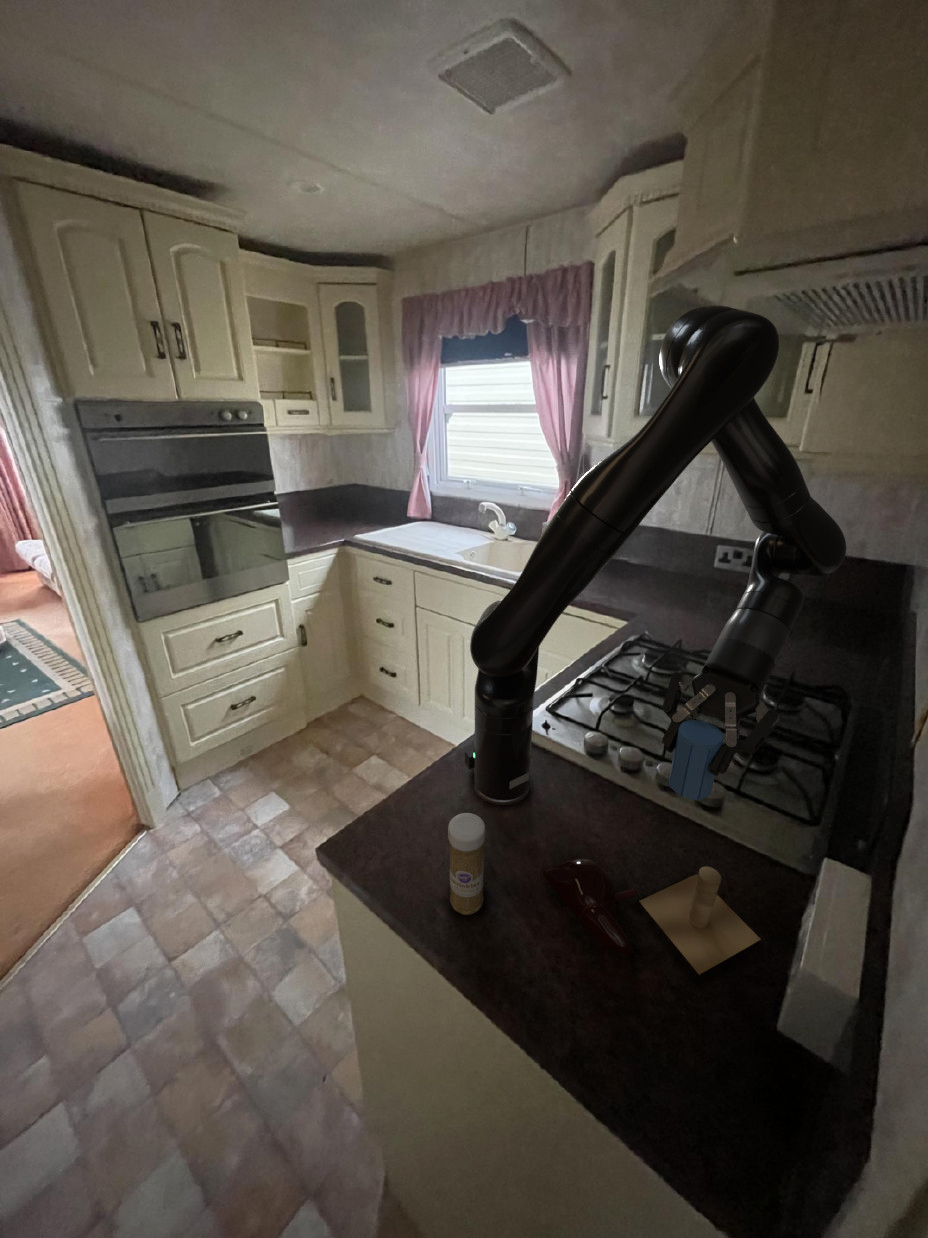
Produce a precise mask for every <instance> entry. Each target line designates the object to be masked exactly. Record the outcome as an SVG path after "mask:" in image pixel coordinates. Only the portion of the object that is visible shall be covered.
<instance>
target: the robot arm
mask: <svg viewBox="0 0 928 1238" xmlns="http://www.w3.org/2000/svg"><path fill="white" fill-rule="evenodd" d="M779 351H780V336H779V332H778V330H777V327H776V326H775V324H774V323H773V322H772V321H771V320H770V319H768V318H767V317H766V316H763V315H762V314H759V313H755V312H751V311H748V310H744V309H739V308H734V307H730V306H726V305H720V304H719V305H717V304H704V305H701V306H700V305H699V306H696V307H694V308H691V309H688V310H687V311H686V312H684V313H682V314H680V316H679V317H677V318H676V319H675V321H673V323H672V324H671V325H670V327H669V328H668V329H667V331H666V333H665V336H664V337H663V339H662V343H661V345H660V351H659V367H660V368H659V369H660V371H661V375H662V377H663V379H664V381H665V383H666V384H667V386H668V387H669V388H670V390H669V391H668V392H667V394H666V396H665V397H664V399H663V400H662V402H661V403H660V404H659V406H658V407H657V409H656V410H655V411H654V413H653V414H652V415H651V417H650V418H649V419H648V421H647V422H646V423H645V424H644V425H643V426H642V428H640V430H639V431H638V432H637V433H636V434H635V435H634V436H633V437H631V438H630V439H629V440H628V441H626V442H625V443H624V444H623V445H621V446H620V447H619V448H617V449H616V450H614V451H613V452H612V453H610V454H609V455H607V456H605V458H603V459H602V460H601V461H599V462H598V463H597V464H595V465H594V466H592V468H590V469H589V470H588V471H587V472H586V473H585V474H584V475H582V477H581V478H580V479H579V480H578V481H577V482H576V484H575V485H574V486H573V487H572V489H571V490H570V491H569V493H568V494H567V496H565V499H564V500H563V501H562V503H561V504H560V505H559V507H558V508H557V510H556V511H555V512H554V514H553V515H552V517H551V519H550V521H548V522H549V524H548V525H547V527H546V529H545V530H544V532H543V534H542V533H541V536H540V537H539V539H538V541H537V543H536V544H535V546H534V548H533V550H532V552H531V554H530V556H529V558H528V560H527V562H526V564H525V566H524V568H523V570H522V572H521V574H520V575H519V576H518V578H517V580H516V582H515V583H514V585H513V586H512V587H511V589H510V590H509V591H508V593H506V595H505V596H504V597H503V598H501V599H497V600H496V601H494V602H492V603H490V604H489V605H488V606H487V607H486V608H485V609H484V611H483V612H482V614H481V616H480V617H479V619H478V621H477V623H476V624H475V626H474V628H473V630H472V633H471V635H470V642H469V652H470V656H471V659H472V661H473V663H474V665H475V667H477V669H478V670H477V674H476V680H475V684H474V733H473V736H474V737H473V739H474V740H473V741H474V742H473V744H474V745H473V748H472V749H468V750H465V751H464V764H465V766H466V767H467V768H468V770H471V769H473V774H474V778H473V789H474V792H475V793H476V795H477V796H478V797H479V798H480V799H481V800H483V801H484V802H486V803H488V804H491V805H494V806H503V807H505V806H513V805H515V804H518V803H520V802H522V801H523V800H524V799H525V798H526V797H527V796H528V794H529V791H530V784H531V783H530V773H531V756H532V741H533V721H534V705H535V694H536V693H535V692H536V686H537V679H538V667H539V655H540V654H539V653H540V646H541V644H542V643H543V641H544V640H545V638H546V636H547V635H548V633H549V632H550V630H551V629H552V628H553V626H554V624H555V623H556V622H557V621H558V619H559V618H560V617H561V615H562V614H563V612H564V611H565V610H566V609H568V607H569V606H570V605H571V604H572V602H573V601H574V600H575V599H577V597H578V596H579V595H580V594H582V592H583V591H584V590H585V589H586V588H587V587H588V586H589V584H590V583H591V582H592V581H593V580H594V579H595V578H596V577H597V576H598V574H600V572H602V570H603V569H604V568H605V567H606V565H608V563H609V562H610V561H611V560H612V559H613V558H614V557H615V555H617V553H618V552H619V551H620V550H621V548H622V547H623V546H624V544H625V543H626V542H627V541H628V540H629V538H630V537H631V536H632V534H633V533H634V532H635V531H636V530H637V528H638V527H639V525H640V524H641V523H642V522H643V520H644V519H645V517H647V515H648V514H649V512H650V511H651V510H652V509H653V508H654V506H656V504H657V503H658V502H659V501H660V500H661V499H662V497H663V496H664V495H665V494H666V492H667V491H668V490H669V489H670V488H671V487H672V485H673V484H674V483H675V482H676V481H677V479H678V478H679V477H680V475H681V474H682V473H684V471H685V470H686V469H687V467H688V466H689V465H690V464H691V463H692V462H693V461H694V460H695V459H696V457H697V456H698V455H699V454H700V453H702V451H703V450H704V449H705V448H706V447H707V446H708V445H710V443H711V445H712V446H713V448H714V449H715V451H716V452H717V454H718V457H719V458H720V461H721V462H722V464H723V466H724V468H725V470H726V472H727V474H728V475H729V478H730V480H731V481H732V484H733V486H734V488H735V490H736V492H737V494H738V497H739V498H740V501H741V502H742V504H743V506H744V508H745V511H746V512H747V514H748V516H749V519H750V520H751V522H752V524H753V525H754V527H755V528H756V529H758V530H759V531H761V532H760V533H759V535H758V537H757V538H756V540H755V543H754V546H753V547H754V548H753V553H752V561H751V567H750V571H749V576H748V582H747V584H746V589H745V591H744V592H743V594H742V596H741V598H740V600H739V602H738V604H737V607H736V608H735V610H734V612H733V613H732V614H731V616H730V618H729V619H728V620H727V622H726V623H725V625H724V626H723V628H722V630H721V631H720V634H719V636H718V637H717V640H716V642H715V644H714V646H713V647H712V649H711V651H710V653H709V656H708V657H707V659H706V661H705V663H704V665H703V667H702V668H701V671H700V672H699V673H698V674H697V675H694V677H690V676H684V675H682V674H681V673H680V672H678V671H675V672H672V674H671V676H670V680H669V684H668V685H667V686H668V687H667V690H666V694H665V697H664V700H663V703H662V705H661V706H662V707H661V710H662V712H663V713H664V714H665V715H666V716H667V717H668V718H669V719H670V724H669V725H668V727H667V729H666V730H665V733H664V734H663V737H662V739H661V743H662V744H663V749H664V750H665V752H668V753H670V754H672V753H674V750H675V745H676V739H677V734H678V729H679V727H680V725H681V724H682V723H683V722H685V721H688V720H696V719H697V718H699V717H700V716H702V715H705V716H708V717H713V718H715V719H717V720H718V721H719V722H722V723H723V724H724V725H725V726H724V727H725V742H724V744H723V745H721V747H720V749H719V751H718V753H717V755H716V757H715V759H714V761H713V763H712V765H711V767H710V770H709V771H710V773H711V774H713V775H715V777H718V776H719V774H722V775H724V774H725V773H727V771H728V769H729V767H730V765H731V763H732V761H733V759H734V757H735V755H736V754H737V753H747V754H749V755H754V754H756V752H757V751H758V750H759V748H760V747H761V746H762V745H763V743H764V742H765V741H766V740H767V738H768V737H769V736H770V734H772V732H773V731H774V729H775V728H776V727H777V726H778V724H779V723H780V714H779V713H778V711H777V710H776V709H773V708H772V709H770V708H768V707H765V706H764V705H762V704H761V701H760V697H761V695H762V693H763V690H764V689H765V687H766V685H767V683H768V681H769V679H770V677H771V674H772V673H773V671H774V668H775V667H776V665H777V663H778V662H779V660H780V658H781V657H782V653H783V650H784V648H785V646H786V643H787V639H788V636H789V634H790V632H791V630H792V628H793V626H794V623H795V622H796V621H797V618H798V616H799V614H800V611H801V610H802V607H803V605H804V601H805V595H804V592H803V591H802V589H801V588H800V587H799V586H798V585H796V584H794V583H793V582H791V581H789V580H786V579H784V578H781V577H780V576H781V575H782V574H787V575H798V576H807V577H824V576H828V575H831V574H832V573H834V572H836V570H838V569H839V568H840V566H841V565H842V564H843V562H844V561H845V557H846V553H847V541H846V537H845V535H844V532H843V530H842V528H841V527H840V525H839V524H838V523H837V522H836V520H835V519H834V518H833V517H832V516H831V515H830V514H829V513H828V511H826V510H825V509H824V508H823V507H822V506H821V504H820V503H819V502H818V501H816V500H815V499H814V498H813V496H811V492H810V490H809V488H808V486H807V483H806V480H805V478H804V476H803V473H802V471H801V468H800V466H799V464H798V462H797V460H796V459H795V457H794V455H793V454H792V452H791V450H790V449H789V447H788V446H787V444H786V442H784V440H783V439H782V438H781V436H780V435H779V433H778V432H777V431H776V430H775V428H774V427H773V426H772V424H771V423H770V422H769V420H768V419H767V417H766V415H765V414H764V413H763V411H762V410H761V408H760V406H759V404H758V402H757V401H756V398H755V396H757V394H758V393H759V392H760V391H761V389H762V388H763V386H764V385H765V383H766V382H767V381H768V379H769V377H770V375H771V373H772V372H773V370H774V368H775V365H776V363H777V360H778V356H779ZM691 687H692V691H693V697H692V698H690V699H689V700H688V701H687V702H686V703H685V704H684V705H683V706H682V707H681V708H680V709H679V710H678V708H679V707H678V706H679V704H680V700H681V696H682V693H685V692H687V691H688V689H689V688H691ZM754 713H757V715H756V717H755V719H756V721H757V724H756V725H755V726H754V727H753V729H752V730H751V732H749V734H747V737H746V738H745V739H740V729H741V728H740V726H741V725H740V721H741V719H744V718H745V717H748V716H749V715H751V714H754Z"/></svg>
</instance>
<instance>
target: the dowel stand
mask: <svg viewBox="0 0 928 1238" xmlns="http://www.w3.org/2000/svg"><path fill="white" fill-rule="evenodd" d="M721 883H722V876H721V873H720V872H718V871H717V870H716V869H715V868H713V867H711V866H702V867H701V868H700V869H699V870H698V873H695V874H694V875H691V876H689V877H687V878H685V879H683V880H681V881H679V882H677V883H674V884H672V885H670V886H668V887H666V888H663V889H662V890H660V891H657V892H655V893H653V894H651V895H649V896H647V897H645V898H643V899H641V900H639V903H640V905H641V906H642V907H643V908H644V909H645V911H646V912H647V913H648V914H649V916H650V917H651V918H652V919H653V920H654V922H655V923H656V924H657V925H658V927H659V928H660V929H661V930H662V931H663V933H664V934H665V935H666V936H667V938H668V939H669V940H670V941H671V942H672V943H673V945H674V946H675V947H676V949H677V950H678V951H679V952H680V953H681V954H682V956H683V957H684V958H685V959H686V961H687V962H688V963H689V964H690V965H691V967H692V968H693V969H694V970H695V971H696V973H697V974H698V975H702V974H704V973H706V972H707V971H710V969H712V968H714V967H716V966H717V965H720V964H721V963H723V962H724V961H726V960H728V959H730V958H732V957H733V956H735V955H736V954H738V953H740V952H742V951H744V950H746V949H747V948H749V947H752V946H753V945H754V944H756V943H759V941H761V940H762V939H761V937H759V935H758V934H756V933H755V931H753V930H752V929H751V927H749V925H747V923H746V922H745V921H743V919H741V917H740V916H739V915H738V914H737V913H736V912H735V911H734V910H733V909H732V908H731V907H730V906H729V904H727V903H726V902H725V901H724V900H723V899H722V897H720V896H719V895H718V893H719V889H720V886H721Z"/></svg>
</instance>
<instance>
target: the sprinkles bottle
mask: <svg viewBox="0 0 928 1238" xmlns="http://www.w3.org/2000/svg"><path fill="white" fill-rule="evenodd" d="M447 831H448V832H447V838H448V842H449V886H450V894H449V903H450V905H451V907H452V908H453V910H454V911H455V912H457V913H458V914H459V913H460V915H465V916H468V915H472V914H475V913H477V912H479V910H480V909H481V908H482V907H483V904H484V900H485V898H484V878H485V877H484V873H485V871H484V869H485V853H484V848H485V847H484V846H485V841H486V824H485V822H484V820H483V819H482V818H481V817H480V816H479V815H477V814H474V813H471V812H463V813H459V814H457V815H454V817H452V818H451V819H450V821H449V823H448V828H447Z"/></svg>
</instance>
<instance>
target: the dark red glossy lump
mask: <svg viewBox="0 0 928 1238" xmlns="http://www.w3.org/2000/svg"><path fill="white" fill-rule="evenodd" d="M542 873H543V876H544V877H545V878H546V880H547V881H548V882H549V883H550V885H551V886H552V887H553V888H554V890H555V892H556V893H557V894H558V896H559V897H560V899H561V900H562V901H563V903H564V905H566V906H567V908H568V909H569V911H570V912H571V913H572V914H573V915H574V916H576V917H577V918H579V920H580V923H581V925H582V926H583V928H584V929H585V930H586V931H587V932H588V933H589V934H590V935H591V936H592V937H594V938H595V939H596V940H597V941H598V942H600V943H601V944H603V946H605V947H607V948H609V949H610V950H613V951H614V952H616V953H618V954H621V955H623V956H632V955H633V953H634V950H633V946H632V944H631V941H630V939H629V936H628V935H627V934H626V932H625V930H624V929H623V927H622V926H621V924H619V922H618V920H617V903H618V902H621V901H624V900H629V899H632V898H636V897H639V894H638V892H637V889H636V887H635V888H631V889H627V890H624V891H620V892H617V893H616V891H615V889H614V882H613V880H612V877H611V876H610V875H609V873H607V871H606V870H604V868H603V867H601V866H600V865H599V863H597V862H596V861H595V860H593V859H591V858H588V857H575V858H571V859H569V860H567V861H564V862H561V863H558V864H555V865H553V866H551V867H548V868H545V869H544V870H542Z"/></svg>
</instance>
